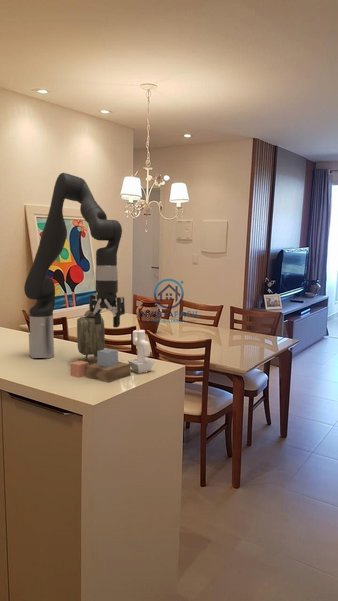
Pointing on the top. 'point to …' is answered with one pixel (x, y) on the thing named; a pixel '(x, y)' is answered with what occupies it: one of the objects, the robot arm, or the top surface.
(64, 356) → the top surface
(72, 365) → the terracotta block
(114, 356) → the blue block
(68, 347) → the top surface
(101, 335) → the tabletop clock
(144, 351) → the figurine
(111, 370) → the plinth
